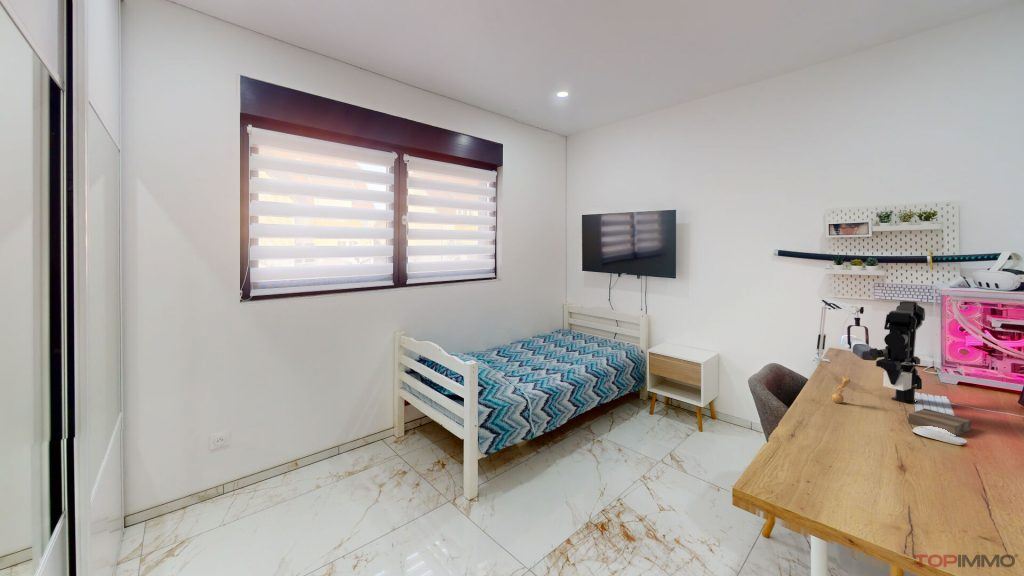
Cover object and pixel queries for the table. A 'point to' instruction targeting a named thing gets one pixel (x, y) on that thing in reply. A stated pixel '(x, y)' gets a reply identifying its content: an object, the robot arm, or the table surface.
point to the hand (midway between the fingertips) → (897, 383)
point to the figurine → (837, 396)
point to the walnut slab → (940, 421)
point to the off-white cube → (899, 381)
